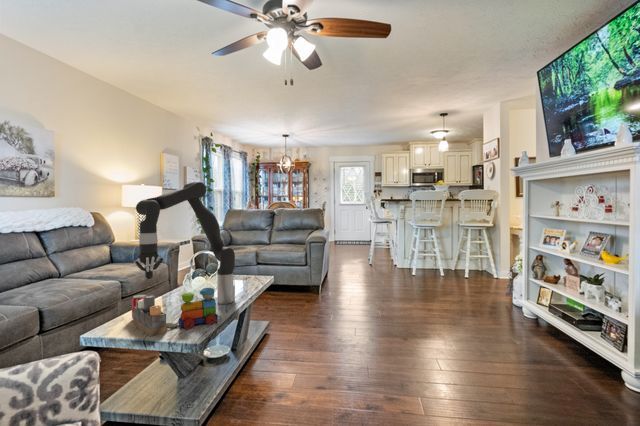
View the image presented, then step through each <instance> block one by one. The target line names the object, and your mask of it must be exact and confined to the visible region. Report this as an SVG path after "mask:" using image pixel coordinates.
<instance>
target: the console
mask: <svg viewBox="0 0 640 426" xmlns="http://www.w3.org/2000/svg"><path fill="white" fill-rule="evenodd" d="M166 323H167V313H166V312H164V311H162V310H161V315H157V316H153V317H151V316H150V312H147V313H146V312H144V309H138V306H137V307H134V320H133V325H134V326H135V327H136V328H138V329H140V330H141V331H142V332H144V333H145V334H147V335H148V337H149V336H150V337H155V336H158V335H161V334H165V333H167V332H168V331H167V330H168V328H167V325H166Z"/></svg>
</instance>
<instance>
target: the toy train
mask: <svg viewBox="0 0 640 426" xmlns="http://www.w3.org/2000/svg"><path fill="white" fill-rule="evenodd" d="M194 295H195V293H193V292H192V293H191V292H188V293H187V292H186V293H182V294H181V298H182V301H183V302H184V303H182V304H181V306H180V311H181V313H180V316H179V317H178V321H177V322H176V323H173V322H166V325H167V329H170V328H176V327H178V326H179V327H180V328H184V329H185V330H191V329H193V328H194V326H195V325H199V324H200V325H201V324H203V323H204V324H206V325H208V326H210V325H214V324H215V323H216V321H218V320H219V315H218V314H217V303H216V302H217V301H216V299H215V298H214V295H215V289H214V288H213V287H204V288H201V290H199V295H201V296H202V298H203V299H201V300H196V301H195V300H194ZM193 300H194V301H193Z"/></svg>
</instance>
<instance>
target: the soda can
mask: <svg viewBox="0 0 640 426" xmlns="http://www.w3.org/2000/svg"><path fill="white" fill-rule="evenodd" d="M146 296H147V294H144V293H143V294H135V295H133V296H132V299H131V318H132V320H133V321H134V307H137V306H138V301H139V300H142V299H144V297H146Z"/></svg>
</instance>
